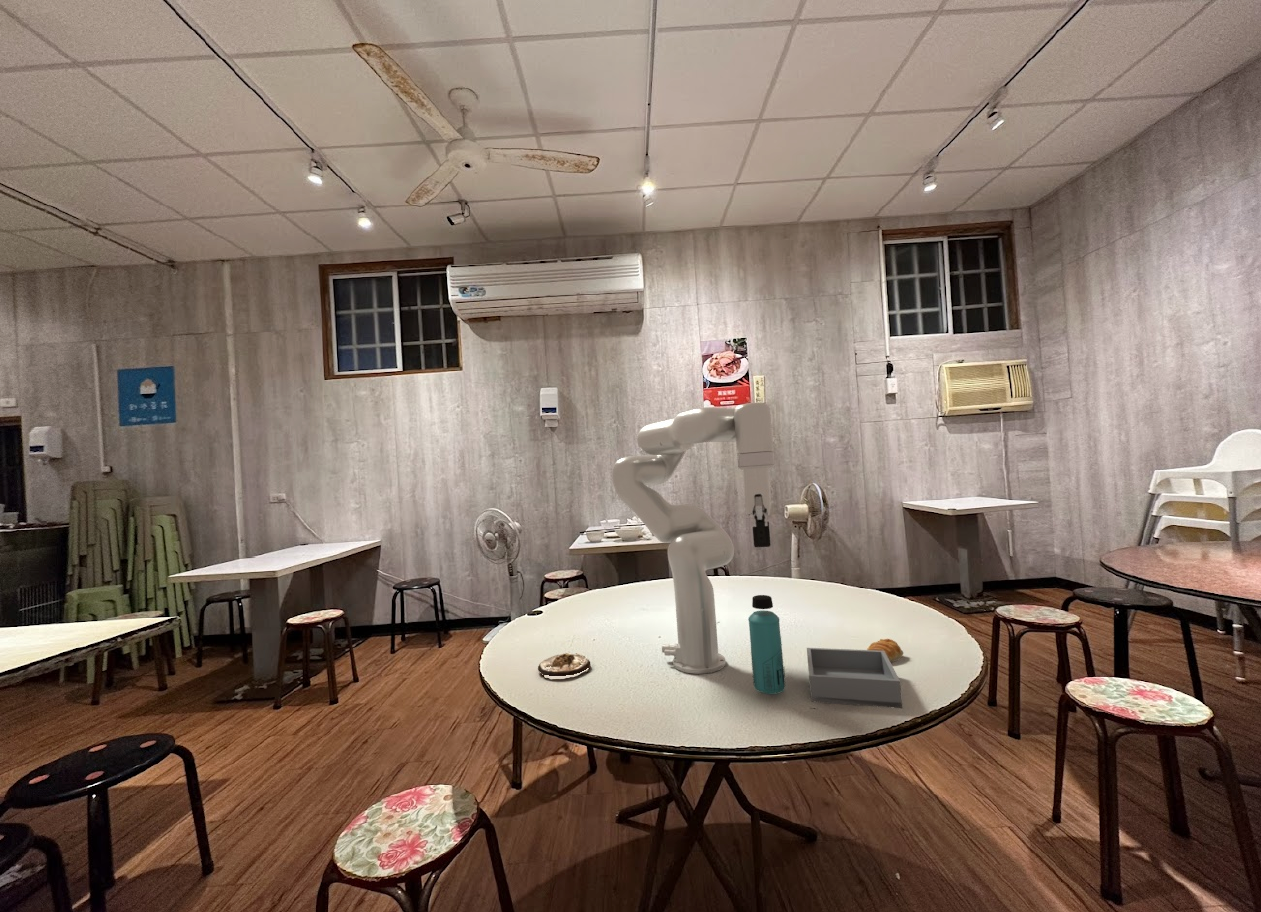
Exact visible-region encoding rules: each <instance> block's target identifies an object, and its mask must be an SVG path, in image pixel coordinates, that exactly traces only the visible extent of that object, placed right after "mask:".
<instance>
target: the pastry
mask: <svg viewBox="0 0 1261 912" xmlns="http://www.w3.org/2000/svg"><path fill="white" fill-rule="evenodd" d="M866 650H877V651H885V653H886V655H887V657H888V659H889V661H890V663H894V662H895V661H898V660H900V659H901V658H902V657H903V655H904V651H903V650H902V648H901V646H900V645H899V644H898V642H896V641H895V640H894V639H891V638H884V639H882V638H880V639H879V640H877V641H876V642H873V643H871V644H870V645H869V646H868V648H867V649H866Z"/></svg>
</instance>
